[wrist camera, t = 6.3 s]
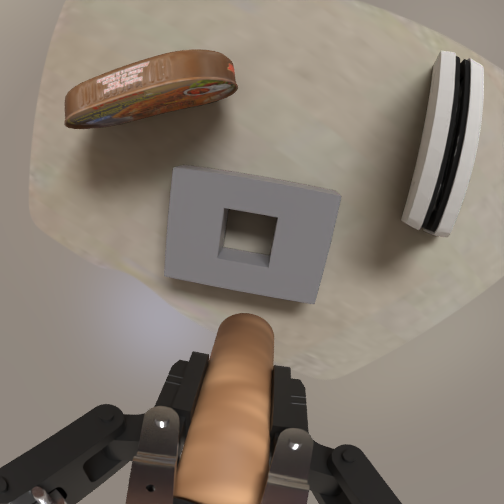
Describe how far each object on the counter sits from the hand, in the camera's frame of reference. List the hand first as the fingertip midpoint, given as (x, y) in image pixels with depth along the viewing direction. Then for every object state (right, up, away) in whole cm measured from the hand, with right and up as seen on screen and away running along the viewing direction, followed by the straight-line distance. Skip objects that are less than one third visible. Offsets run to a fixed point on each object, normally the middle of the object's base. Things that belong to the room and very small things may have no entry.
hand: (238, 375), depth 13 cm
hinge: (+18, +16, +12) cm, 27 cm away
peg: (0, +1, +3) cm, 3 cm away
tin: (-8, +20, +13) cm, 25 cm away
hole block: (0, +8, +16) cm, 18 cm away
